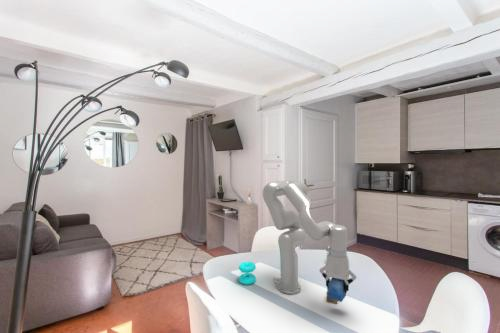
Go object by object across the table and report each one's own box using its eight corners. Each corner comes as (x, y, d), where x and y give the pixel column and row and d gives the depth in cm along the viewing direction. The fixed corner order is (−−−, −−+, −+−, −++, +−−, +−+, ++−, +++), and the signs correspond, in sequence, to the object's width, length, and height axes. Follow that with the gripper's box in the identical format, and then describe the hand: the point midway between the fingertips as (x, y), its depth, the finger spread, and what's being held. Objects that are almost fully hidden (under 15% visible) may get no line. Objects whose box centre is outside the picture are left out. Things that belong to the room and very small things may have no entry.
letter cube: (326, 301, 123) (326, 291, 123) (328, 296, 127) (327, 286, 127) (337, 304, 121) (337, 293, 121) (338, 298, 125) (338, 288, 125)
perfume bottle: (332, 291, 119) (333, 267, 118) (345, 295, 115) (346, 270, 115) (327, 297, 114) (328, 271, 114) (341, 302, 110) (341, 276, 110)
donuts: (240, 260, 151) (256, 261, 149) (241, 276, 151) (257, 277, 149) (236, 267, 141) (253, 268, 139) (237, 284, 141) (254, 286, 139)
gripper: (317, 252, 114) (316, 289, 115) (358, 259, 106) (356, 299, 107) (320, 246, 121) (319, 281, 122) (358, 252, 113) (357, 290, 114)
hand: (337, 289), depth 115 cm, fingers closed on perfume bottle, 7 cm apart
